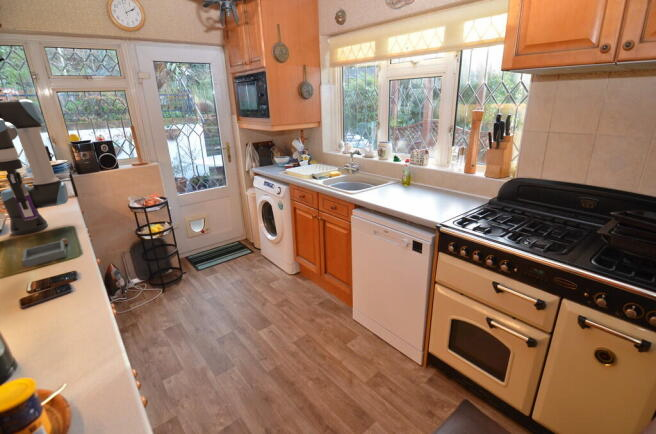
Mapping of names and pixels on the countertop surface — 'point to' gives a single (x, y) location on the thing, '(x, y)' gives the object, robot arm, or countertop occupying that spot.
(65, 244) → the ball
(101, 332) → the countertop surface
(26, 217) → the container
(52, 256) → the tray
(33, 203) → the robot arm
